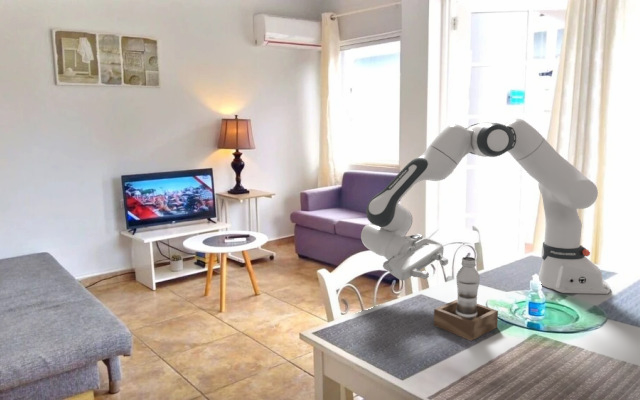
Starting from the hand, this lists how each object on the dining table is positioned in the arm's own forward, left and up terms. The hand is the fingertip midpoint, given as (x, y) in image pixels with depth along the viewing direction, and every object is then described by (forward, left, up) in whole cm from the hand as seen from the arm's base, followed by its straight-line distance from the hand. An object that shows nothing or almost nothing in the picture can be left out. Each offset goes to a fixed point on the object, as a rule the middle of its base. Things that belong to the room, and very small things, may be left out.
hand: (437, 269), depth 151 cm
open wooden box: (-9, +9, -13) cm, 18 cm away
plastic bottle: (-9, +9, -13) cm, 18 cm away
